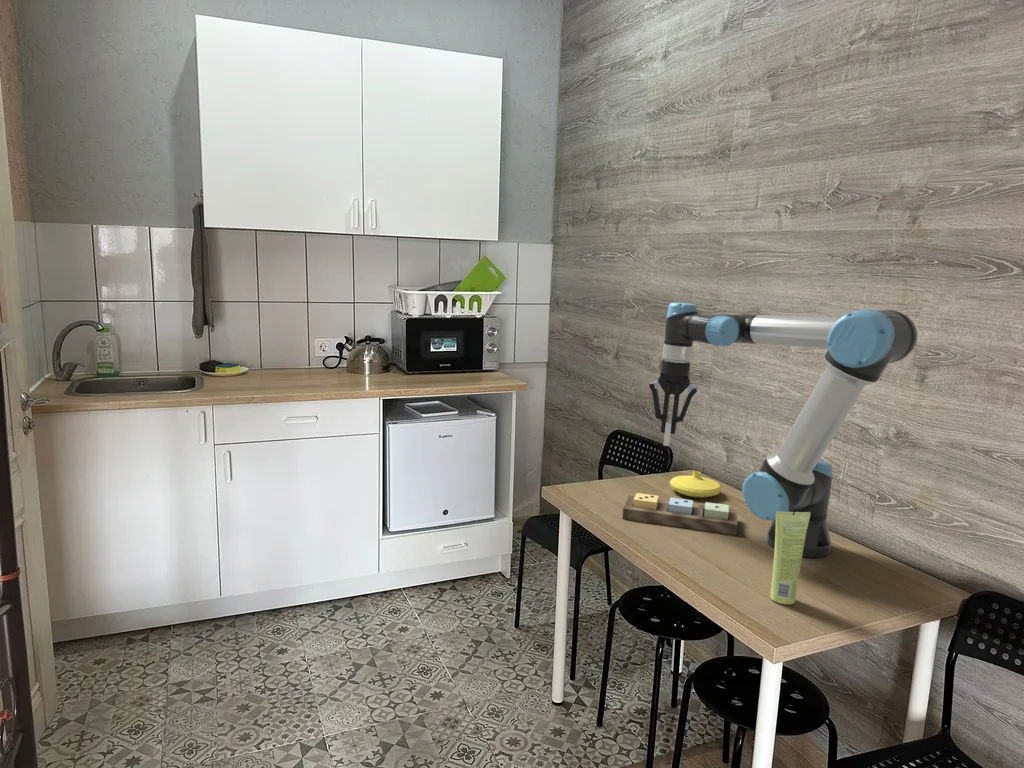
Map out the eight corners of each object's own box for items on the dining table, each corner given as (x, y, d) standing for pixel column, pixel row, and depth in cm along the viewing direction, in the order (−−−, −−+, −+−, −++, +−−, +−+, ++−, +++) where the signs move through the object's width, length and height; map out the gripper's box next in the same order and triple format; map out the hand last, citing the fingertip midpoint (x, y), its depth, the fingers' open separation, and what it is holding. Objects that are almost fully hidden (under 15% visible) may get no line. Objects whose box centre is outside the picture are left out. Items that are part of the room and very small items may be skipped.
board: (735, 520, 192) (736, 510, 192) (736, 535, 181) (737, 524, 180) (628, 505, 201) (629, 495, 200) (622, 518, 189) (623, 508, 189)
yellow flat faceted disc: (702, 505, 203) (705, 483, 202) (658, 491, 215) (660, 470, 214) (730, 495, 214) (732, 474, 213) (687, 483, 225) (689, 462, 224)
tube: (776, 591, 149) (786, 505, 146) (800, 599, 146) (810, 511, 142) (765, 599, 145) (775, 511, 142) (789, 608, 141) (800, 518, 138)
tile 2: (692, 510, 192) (693, 499, 192) (691, 517, 186) (692, 506, 186) (669, 507, 194) (670, 496, 194) (667, 514, 188) (668, 503, 188)
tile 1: (727, 515, 190) (728, 504, 189) (727, 523, 184) (728, 511, 183) (704, 512, 191) (705, 501, 191) (703, 519, 186) (704, 508, 185)
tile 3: (657, 505, 195) (658, 495, 194) (655, 512, 189) (656, 501, 189) (635, 502, 197) (636, 492, 196) (633, 509, 191) (633, 498, 190)
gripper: (701, 361, 186) (691, 444, 191) (653, 355, 190) (644, 437, 195) (700, 365, 179) (689, 451, 184) (650, 359, 183) (640, 444, 188)
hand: (666, 444), depth 189 cm, fingers closed
